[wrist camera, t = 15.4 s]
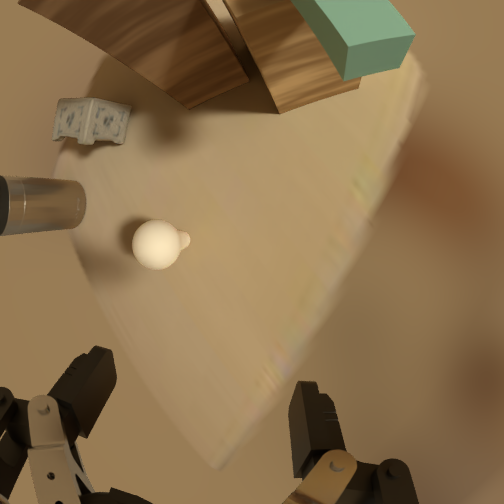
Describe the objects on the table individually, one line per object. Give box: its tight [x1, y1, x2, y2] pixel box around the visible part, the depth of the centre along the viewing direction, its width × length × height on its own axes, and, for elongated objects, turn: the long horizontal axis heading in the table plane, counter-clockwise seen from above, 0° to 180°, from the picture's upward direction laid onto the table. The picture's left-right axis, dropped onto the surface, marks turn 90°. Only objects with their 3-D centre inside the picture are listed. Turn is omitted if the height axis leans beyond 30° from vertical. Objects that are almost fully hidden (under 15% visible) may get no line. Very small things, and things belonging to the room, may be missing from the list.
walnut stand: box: [18, 0, 249, 109], centre depth 22 cm, size 12×10×32 cm
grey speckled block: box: [52, 97, 131, 145], centre depth 37 cm, size 10×8×10 cm
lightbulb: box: [132, 219, 190, 270], centre depth 36 cm, size 6×6×11 cm
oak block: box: [222, 0, 361, 114], centre depth 23 cm, size 14×12×22 cm
